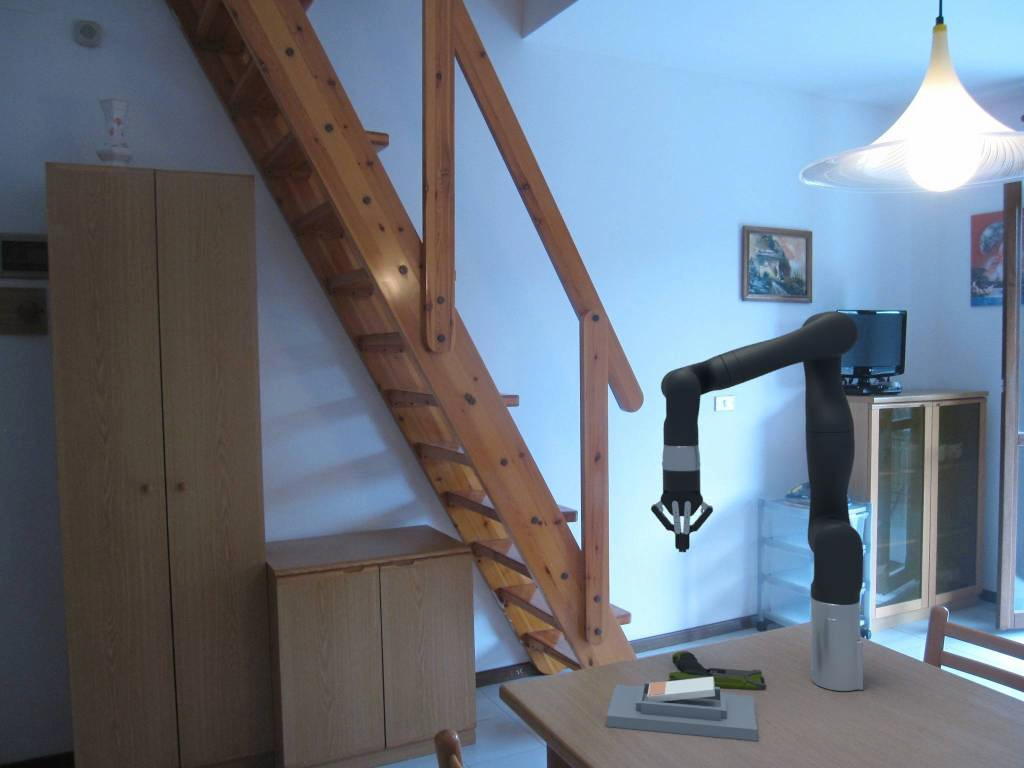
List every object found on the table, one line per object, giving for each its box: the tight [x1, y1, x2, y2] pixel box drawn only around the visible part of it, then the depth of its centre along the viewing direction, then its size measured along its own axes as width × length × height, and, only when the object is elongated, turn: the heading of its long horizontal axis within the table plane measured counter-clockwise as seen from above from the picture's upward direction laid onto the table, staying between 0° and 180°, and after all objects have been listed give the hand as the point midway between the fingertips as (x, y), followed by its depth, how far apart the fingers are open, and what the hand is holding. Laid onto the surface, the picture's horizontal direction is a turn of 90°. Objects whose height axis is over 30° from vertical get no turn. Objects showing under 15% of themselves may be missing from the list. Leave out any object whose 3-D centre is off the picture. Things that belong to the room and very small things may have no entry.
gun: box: [668, 650, 767, 691], centre depth 163 cm, size 2×19×15 cm
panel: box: [606, 680, 758, 742], centre depth 144 cm, size 26×14×4 cm, turn 76°
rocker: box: [647, 677, 715, 702], centre depth 143 cm, size 12×6×1 cm, turn 76°
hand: (682, 551), depth 159 cm, fingers closed
